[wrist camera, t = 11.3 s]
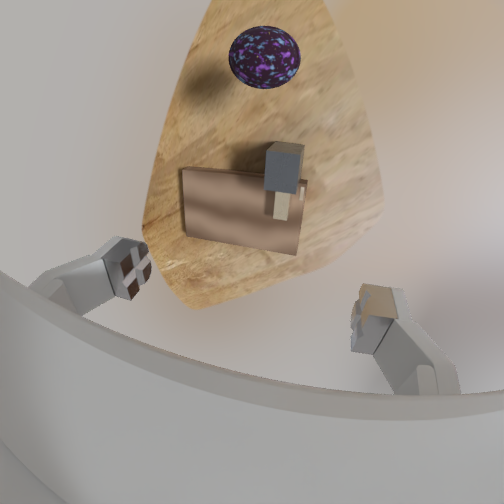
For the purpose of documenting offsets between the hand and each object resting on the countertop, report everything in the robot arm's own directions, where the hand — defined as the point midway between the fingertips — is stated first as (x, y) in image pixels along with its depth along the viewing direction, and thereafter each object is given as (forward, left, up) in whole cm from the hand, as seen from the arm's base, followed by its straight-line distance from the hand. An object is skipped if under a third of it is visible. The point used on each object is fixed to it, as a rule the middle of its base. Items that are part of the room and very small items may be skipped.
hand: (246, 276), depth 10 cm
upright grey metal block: (+6, -2, -31) cm, 31 cm away
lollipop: (-10, -4, -31) cm, 33 cm away
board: (+12, -8, -31) cm, 34 cm away
